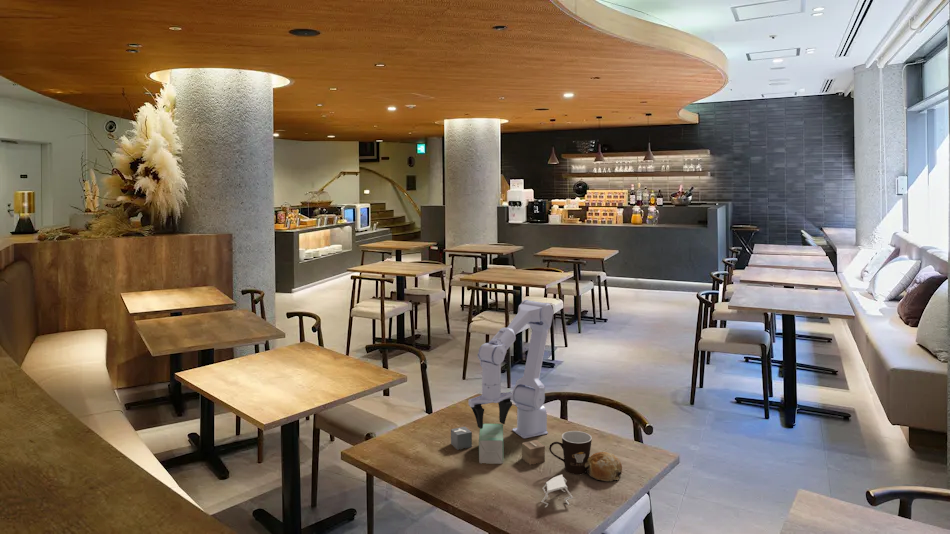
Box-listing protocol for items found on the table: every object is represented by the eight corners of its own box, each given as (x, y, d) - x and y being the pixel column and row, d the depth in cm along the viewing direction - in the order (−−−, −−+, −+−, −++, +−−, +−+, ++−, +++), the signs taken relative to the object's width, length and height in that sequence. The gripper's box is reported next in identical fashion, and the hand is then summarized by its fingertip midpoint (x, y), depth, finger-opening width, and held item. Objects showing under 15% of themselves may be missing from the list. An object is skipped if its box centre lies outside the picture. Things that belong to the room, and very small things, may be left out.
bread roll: (606, 496, 174) (620, 475, 171) (576, 471, 178) (589, 451, 175) (618, 481, 182) (631, 461, 179) (589, 458, 187) (602, 438, 184)
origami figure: (572, 512, 160) (572, 494, 159) (539, 508, 162) (539, 490, 161) (576, 489, 171) (576, 472, 170) (545, 486, 173) (545, 469, 172)
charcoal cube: (465, 441, 202) (464, 425, 202) (471, 447, 198) (471, 431, 197) (450, 444, 200) (450, 428, 199) (457, 450, 196) (457, 434, 195)
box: (503, 444, 200) (503, 422, 199) (503, 464, 186) (503, 440, 185) (480, 444, 200) (479, 422, 199) (478, 464, 187) (478, 440, 185)
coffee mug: (593, 465, 185) (594, 433, 184) (588, 478, 177) (589, 445, 176) (554, 459, 189) (555, 428, 188) (548, 472, 181) (548, 439, 180)
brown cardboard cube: (535, 455, 192) (536, 439, 191) (544, 461, 188) (544, 445, 187) (521, 458, 190) (521, 442, 189) (530, 465, 186) (530, 448, 185)
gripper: (475, 390, 184) (475, 434, 186) (518, 382, 190) (518, 425, 192) (465, 383, 190) (465, 425, 192) (507, 376, 196) (507, 417, 198)
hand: (491, 425), depth 192 cm, fingers open, 7 cm apart
